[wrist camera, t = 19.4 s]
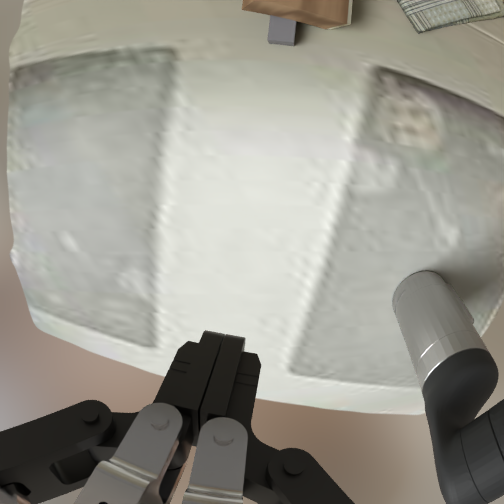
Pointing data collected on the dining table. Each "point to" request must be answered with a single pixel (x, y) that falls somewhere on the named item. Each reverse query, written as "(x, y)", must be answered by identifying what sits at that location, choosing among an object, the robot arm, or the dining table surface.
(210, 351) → the robot arm
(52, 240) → the dining table surface
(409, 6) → the dish towel
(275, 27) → the rail
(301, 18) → the walnut slab
